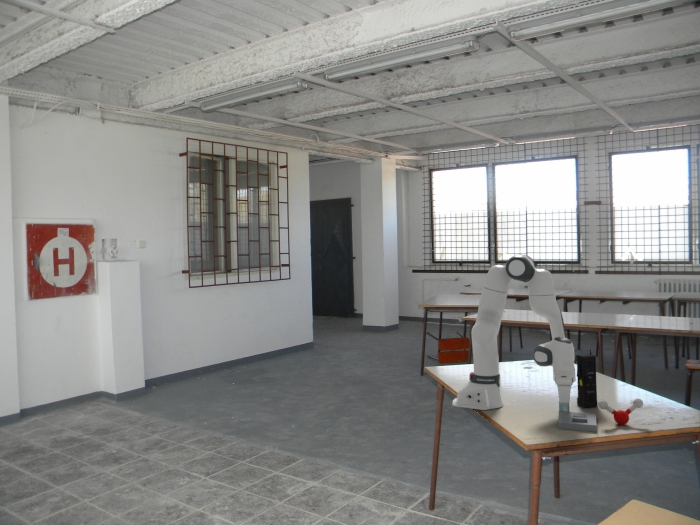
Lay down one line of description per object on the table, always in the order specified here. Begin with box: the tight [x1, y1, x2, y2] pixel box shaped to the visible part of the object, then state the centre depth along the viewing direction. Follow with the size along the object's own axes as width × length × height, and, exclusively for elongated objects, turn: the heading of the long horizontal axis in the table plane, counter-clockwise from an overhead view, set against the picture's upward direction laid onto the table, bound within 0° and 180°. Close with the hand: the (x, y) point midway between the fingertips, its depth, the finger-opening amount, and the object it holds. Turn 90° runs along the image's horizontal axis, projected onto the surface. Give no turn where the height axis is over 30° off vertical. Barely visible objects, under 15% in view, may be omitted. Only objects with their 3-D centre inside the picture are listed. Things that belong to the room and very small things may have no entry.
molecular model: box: [597, 398, 644, 426], centre depth 233 cm, size 18×6×10 cm, turn 89°
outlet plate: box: [557, 410, 598, 433], centre depth 235 cm, size 14×16×3 cm
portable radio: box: [575, 348, 598, 409], centre depth 259 cm, size 8×6×25 cm
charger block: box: [558, 400, 570, 412], centre depth 247 cm, size 4×4×6 cm
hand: (565, 409), depth 247 cm, fingers open, 4 cm apart
